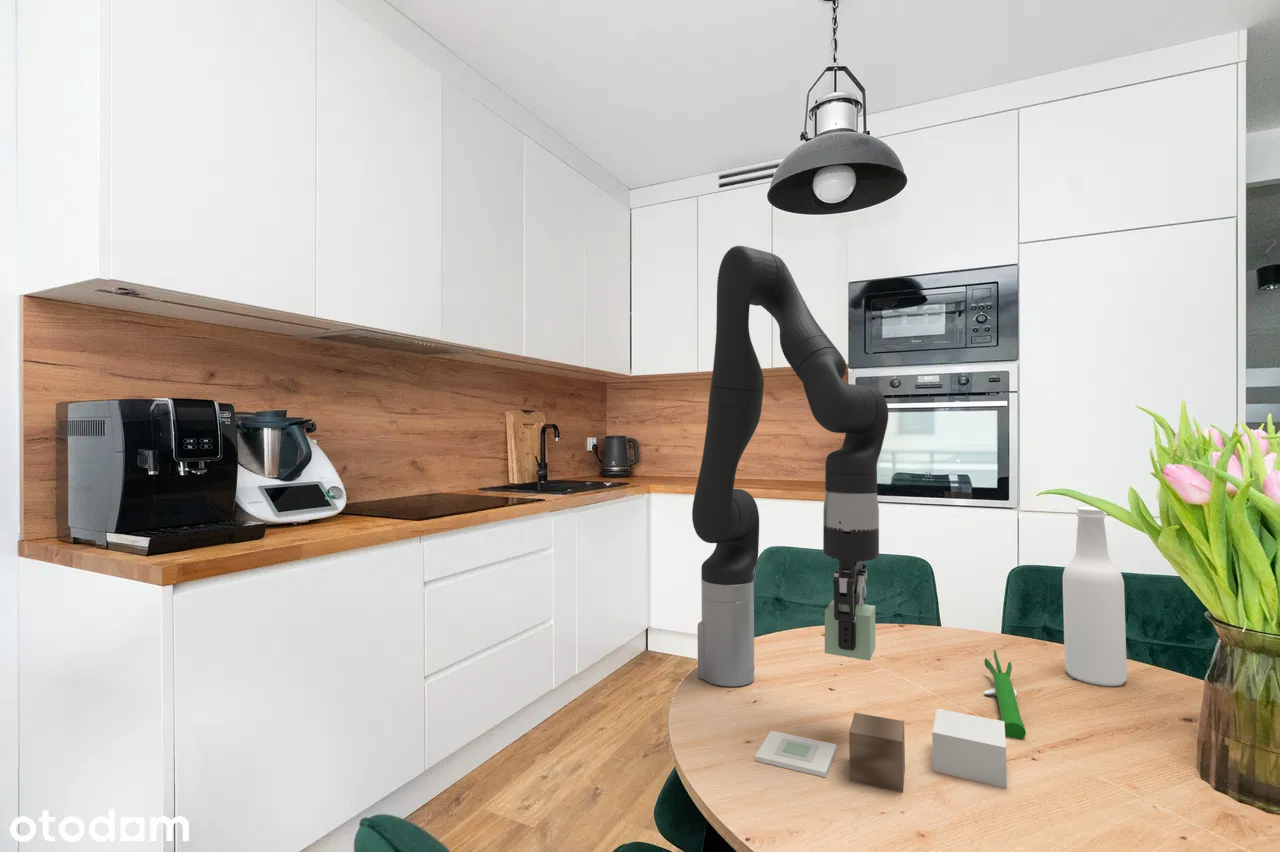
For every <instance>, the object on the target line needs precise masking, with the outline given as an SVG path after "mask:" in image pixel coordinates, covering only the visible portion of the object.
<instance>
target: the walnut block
mask: <svg viewBox="0 0 1280 852" xmlns="http://www.w3.org/2000/svg"><path fill="white" fill-rule="evenodd" d="M848 734H849V735H848V738H849V739H848V740H849V741H848V744H849V745H848V746H849V752H848V753H849V756H848V757H849V781H850V782H851V783H852V782H854V783H858V784H862V785H866V786H870V787H871V786H872V787H875V788H880V789H885V790H890V791H894V792H899V793H904V789H905V788H904V784H905V775H906V774H905V771H906V759H905V757H906V753H905V752H906V751H905V750H906V749H905V747H906V746H905V721H904V720H899V719H893V718H887V717H882V716H876V715H871V714H864V713H859V712H854V713H853V717H852V721H851V724H850V727H849V731H848Z"/></svg>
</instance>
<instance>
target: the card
mask: <svg viewBox="0 0 1280 852" xmlns="http://www.w3.org/2000/svg"><path fill="white" fill-rule="evenodd" d="M837 750H838V746H837V744H836V743H831V742H826V741H822V740H817V739H813V738H808V737H804V736H803V737H802V736H798V735H793V734H789V733H784V732H779V731H774V730H770V731H769V733H768V735H767V736H766V737H765V739H764V741H763V743H762V744H761V746H760V747H759V749H758V750H757V752H756V753H755V755H754V761H755V762H759V763H763V764H768V765H773V766H776V767H780V768H785V769H789V770H793V771H796V772H797V771H798V772H800V773H801V772H802V773H806V774H810V775H814V776H818V777H822V778H827V776H828V773H829V771H830V768H831V766H832V763H833V760H834V758H835V755H836V752H837Z"/></svg>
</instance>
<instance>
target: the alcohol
mask: <svg viewBox="0 0 1280 852" xmlns="http://www.w3.org/2000/svg"><path fill="white" fill-rule="evenodd" d="M1095 507H1096V506H1079V507H1077V508H1076V510H1077V514H1076V516H1077V527H1076V530H1077V531H1076V541H1075V542H1076V543H1075V544H1076V545H1075V546H1076V547H1075V553H1074V557H1073V559H1071V560H1070V561H1069V562H1068V563H1067V565H1066V566H1065V567H1064V570H1063V574H1062V606H1063V607H1062V609H1063V643H1064V645H1063V646H1064V647H1063V649H1064V669H1065V671H1066V672H1067V674H1068V675H1069V677H1071V678H1073V679H1075V680H1077V681H1080V682H1082V681H1083V683H1087V684H1090V685H1095V686H1102V687H1120V686H1123V685H1124V683H1125V682H1126V681H1127V680H1128V676H1127V675H1128V674H1127V673H1128V672H1127V669H1128V668H1127V666H1128V665H1127V640H1126V639H1127V638H1126V637H1127V635H1126V612H1125V611H1126V605H1125V604H1126V602H1125V598H1126V597H1125V581H1124V578H1123V575H1122V572H1121V571H1120V569H1118V567H1117V566H1115V564H1114V563H1113V562H1112V560H1111V558H1110V556H1109V549H1108V542H1107V533H1106V532H1107V531H1106V526H1105V524H1106V523H1105V518H1106V515H1105V513H1104V512H1105V511H1104V512H1103V511H1101V510H1099V509H1097V508H1095Z"/></svg>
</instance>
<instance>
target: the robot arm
mask: <svg viewBox="0 0 1280 852" xmlns="http://www.w3.org/2000/svg"><path fill="white" fill-rule="evenodd" d="M751 305H752V306H757V307H759V306H760V307H762V308H763V309H765V310H766V311H767V313H769V314H770V315H771V316H772V317H773V318H774V320H775V321H776V323H777V324H778V325H777V326H778V329H779V344H780V348H781V352H782V353H783V355H784V358H785V359H786V362H787V364H788V365H789V366H790V367H791V369H792V370H793V372H794V373H795V374H796V376H797V377H798V379H799V380H800V381H801V383H802V385H803V389H804V392H805V396H806V399H807V403H808V405H809V408H810V409H809V410H810V412H811V413H812V416H813V418H814V419H815V421H816V422H817V423H818V424H819V425H820V426H821V427H822V428H824V429H825V430H827V431H829V432H831V433H836V434H845V436H844V439H843V443H842V446H841V447H840V448H839V449H836V450H833V451H831V452H829V453H828V454H827V456H826V459H825V467H824V468H825V471H824V472H825V473H824V475H825V477H824V478H825V479H824V480H825V482H824V483H825V485H824V489H825V493H824V501H823V510H822V511H823V513H822V514H823V519H822V520H823V522H822V523H823V529H822V530H823V531H822V532H823V535H822V536H823V537H822V539H823V540H822V543H823V547H822V549H823V554H824V555H825V556H826V557H828V558H829V559H836V560H837V561H838V562H839V564H838V567H837V569H836V570H834V575H833V579H832V584H833V601H834V618H835V620H837V621H838V646H839V648H840V649H844V650H851V651H853V650H854V649H855V647H856V621H857V608H858V607H859V606H861V604H865V603H866V600H867V596H866V595H867V585H866V583H867V578H868V571H867V569H866V568H867V564H866V562H870V561H875V560H877V559H878V558H879V556H880V509H879V506H880V505H879V499H878V460H879V457H880V455H881V452H882V448H883V444H884V440H885V436H886V431H887V428H888V421H889V409H888V408H889V407H888V406H889V405H888V403H887V401H886V398H885V396H884V395H883V393H882V392H881V391H880V390H879V389H878V388H876V387H874V386H871V385H865V384H853V383H852V384H851V383H850V384H849V383H846V382H845V381H844V380H843V378H844V376H845V375H846V372H847V362H846V361H845V360H846V359H844V357H843V355H842V354H841V352H840V351H839V349H837V347H836V346H835V344H834V343H833V342H832V341H831V340H830V338H829V337H828V335H827V334H826V333H825V332H824V330H823V329H822V328H821V326H820V325H819V324H818V322H817V321H816V319H815V317H814V316H813V315H812V312H811V310H810V309H809V307H808V305H807V303H806V302H805V299H804V298H803V296H802V293H801V292H800V289H799V288H798V286H797V284H796V281H795V280H794V277H793V276H792V273H791V272H790V270H789V268H788V266H787V264H786V263H785V262H784V261H783V259H782V258H781V257H780V256H778V255H776V254H775V253H771V252H768V251H764V250H761V249H758V248H752V247H748V246H745V245H734V246H733V247H731V248H730V249H728V250H727V251H726V253H724V255H723V257H722V260H721V262H720V265H719V268H718V274H717V282H716V325H715V326H716V328H715V329H716V330H715V331H716V334H715V345H714V355H713V356H714V358H713V365H712V366H713V369H712V374H711V382H710V389H709V397H708V408H707V422H706V430H705V437H704V444H703V451H702V458H701V459H702V460H701V464H700V467H699V468H700V469H699V473H698V479H697V484H696V487H695V492H694V496H693V502H692V510H691V518H692V519H691V520H692V524H693V525H692V526H693V529H694V531H695V534H696V535H697V536H698V538H699V539H701V541H703V542H705V543H707V544H716V545H715V548H714V550H713V551H712V553H711V555H710V556H709V557H708V558H707V559H705V560H704V561H703V563H702V564H701V568H700V569H701V571H700V573H701V574H700V575H701V576H700V577H701V580H700V581H701V621H699V622H698V623H697V679H702V680H704V681H706V682H707V683H710V684H712V685H716V686H720V687H741V686H743V687H744V686H745V685H746V686H747V685H748V684H751V683H752V682H754V680H755V610H754V609H755V604H754V603H755V602H754V601H755V600H754V599H755V598H754V597H755V594H754V592H755V591H754V590H755V589H754V588H755V585H754V578H755V577H754V573H755V570H756V566H757V564H758V562H759V561H758V560H759V547H760V546H759V545H760V544H759V543H760V514H759V507H758V505H757V502H756V499H755V498H754V497H753V495H752V494H750V493H749V492H748V491H747V490H744V489H742V488H735V481H736V480H735V479H736V473H737V468H738V465H739V462H740V460H741V458H742V456H743V453H744V451H745V450H746V448H747V446H748V444H749V443H750V441H751V439H752V437H753V435H754V434H755V432H756V430H757V427H758V425H759V423H760V419H761V414H762V407H763V398H764V389H765V379H764V374H763V371H762V367H761V365H760V361H759V359H758V356H757V354H756V350H755V348H754V345H753V342H752V337H751V334H750V325H749V324H750V323H749V322H750V320H749V319H750V306H751ZM843 605H848V606H849V612H844V611H842V606H843Z"/></svg>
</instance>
